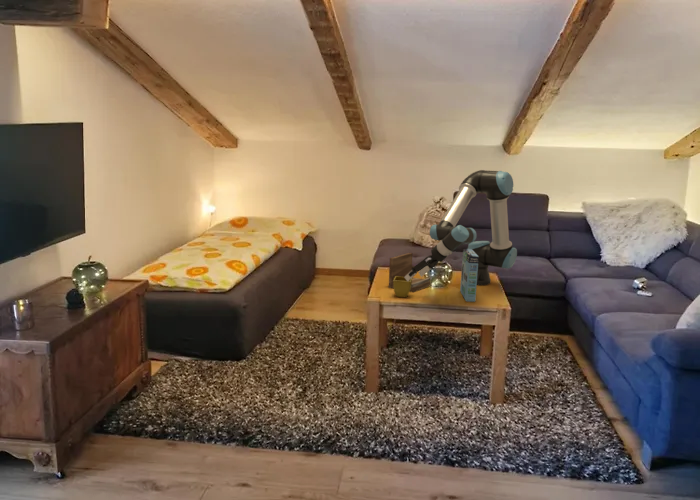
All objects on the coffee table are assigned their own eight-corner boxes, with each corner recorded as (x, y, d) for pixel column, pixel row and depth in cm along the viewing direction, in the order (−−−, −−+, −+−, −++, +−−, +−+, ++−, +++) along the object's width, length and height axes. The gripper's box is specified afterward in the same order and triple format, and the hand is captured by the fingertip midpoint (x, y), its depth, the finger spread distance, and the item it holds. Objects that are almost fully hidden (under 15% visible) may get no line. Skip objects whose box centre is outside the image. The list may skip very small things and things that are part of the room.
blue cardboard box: (460, 291, 321) (462, 248, 317) (469, 292, 321) (472, 249, 316) (465, 301, 302) (468, 256, 297) (476, 302, 302) (479, 256, 297)
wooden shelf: (431, 285, 333) (433, 256, 330) (413, 292, 317) (414, 262, 314) (408, 280, 342) (409, 252, 339) (388, 287, 326) (389, 258, 323)
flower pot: (409, 298, 304) (410, 281, 303) (392, 297, 306) (393, 280, 304) (411, 294, 313) (412, 277, 311) (394, 293, 315) (395, 276, 313)
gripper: (434, 260, 281) (404, 287, 292) (458, 253, 300) (429, 278, 312) (424, 247, 283) (395, 274, 294) (449, 241, 303) (421, 266, 314)
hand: (413, 276), depth 303 cm, fingers open, 13 cm apart
